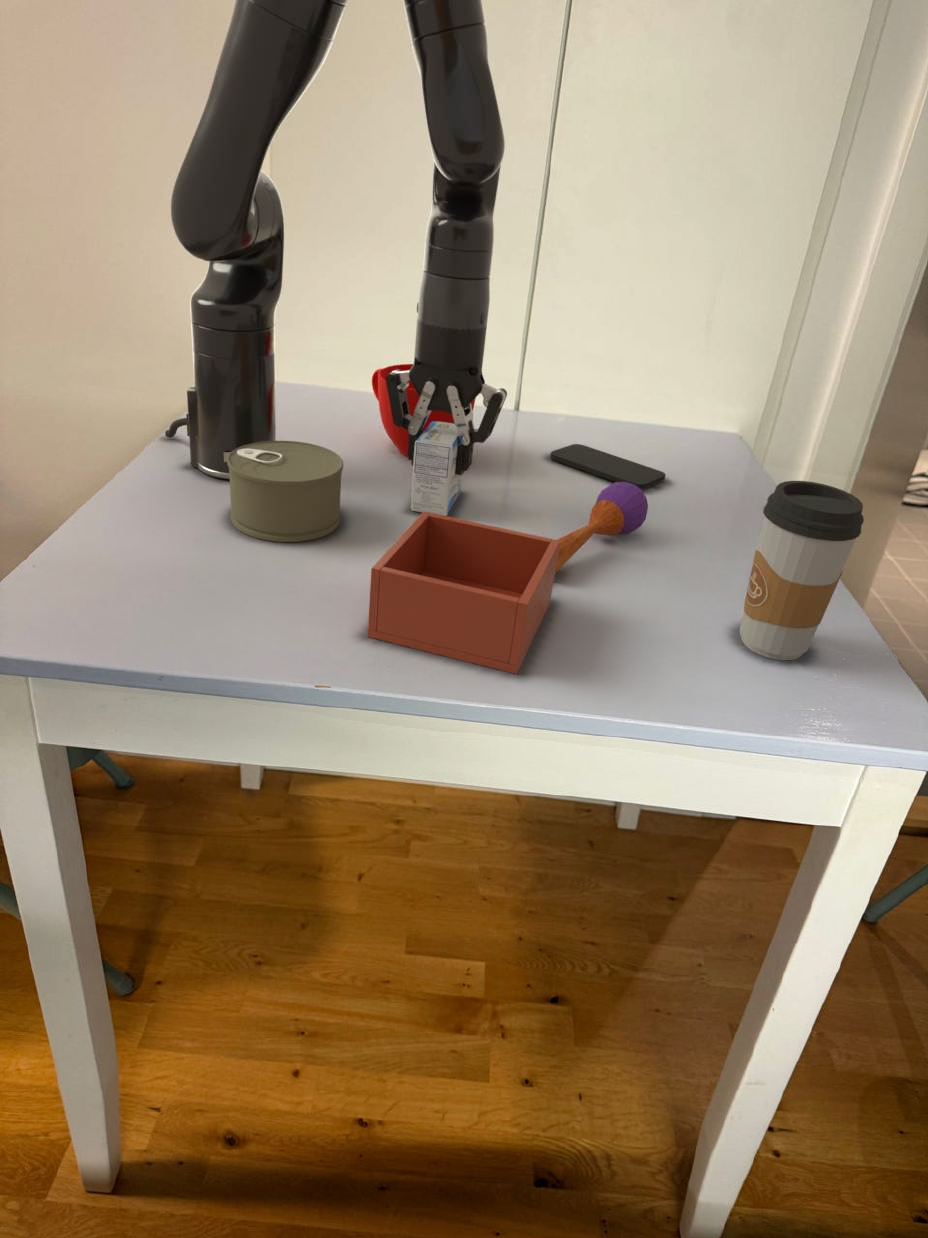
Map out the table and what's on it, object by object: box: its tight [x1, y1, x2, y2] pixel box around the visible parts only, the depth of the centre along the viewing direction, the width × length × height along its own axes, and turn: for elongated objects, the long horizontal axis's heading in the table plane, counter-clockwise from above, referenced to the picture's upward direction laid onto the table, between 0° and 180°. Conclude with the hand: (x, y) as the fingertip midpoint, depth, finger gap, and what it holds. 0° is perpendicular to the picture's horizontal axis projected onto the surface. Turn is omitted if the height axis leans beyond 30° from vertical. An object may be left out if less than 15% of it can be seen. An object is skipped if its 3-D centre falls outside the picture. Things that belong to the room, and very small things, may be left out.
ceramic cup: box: [371, 363, 477, 457], centre depth 120 cm, size 13×17×10 cm
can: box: [227, 440, 344, 543], centre depth 96 cm, size 12×12×7 cm
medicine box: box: [410, 422, 463, 516], centre depth 104 cm, size 8×4×9 cm, turn 168°
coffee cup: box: [739, 480, 865, 661], centre depth 81 cm, size 8×8×15 cm
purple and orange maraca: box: [555, 482, 649, 574], centre depth 98 cm, size 6×6×20 cm
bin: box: [367, 511, 560, 675], centre depth 81 cm, size 14×14×7 cm
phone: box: [549, 443, 666, 490], centre depth 122 cm, size 7×1×15 cm
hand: (438, 467), depth 104 cm, fingers closed on medicine box, 4 cm apart
